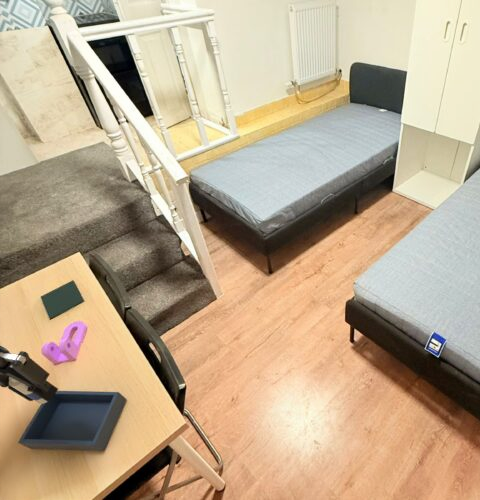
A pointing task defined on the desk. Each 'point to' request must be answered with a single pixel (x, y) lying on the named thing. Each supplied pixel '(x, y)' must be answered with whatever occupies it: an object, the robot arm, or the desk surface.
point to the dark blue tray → (74, 421)
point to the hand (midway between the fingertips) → (43, 394)
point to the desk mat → (62, 299)
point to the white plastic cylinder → (25, 390)
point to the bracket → (66, 344)
